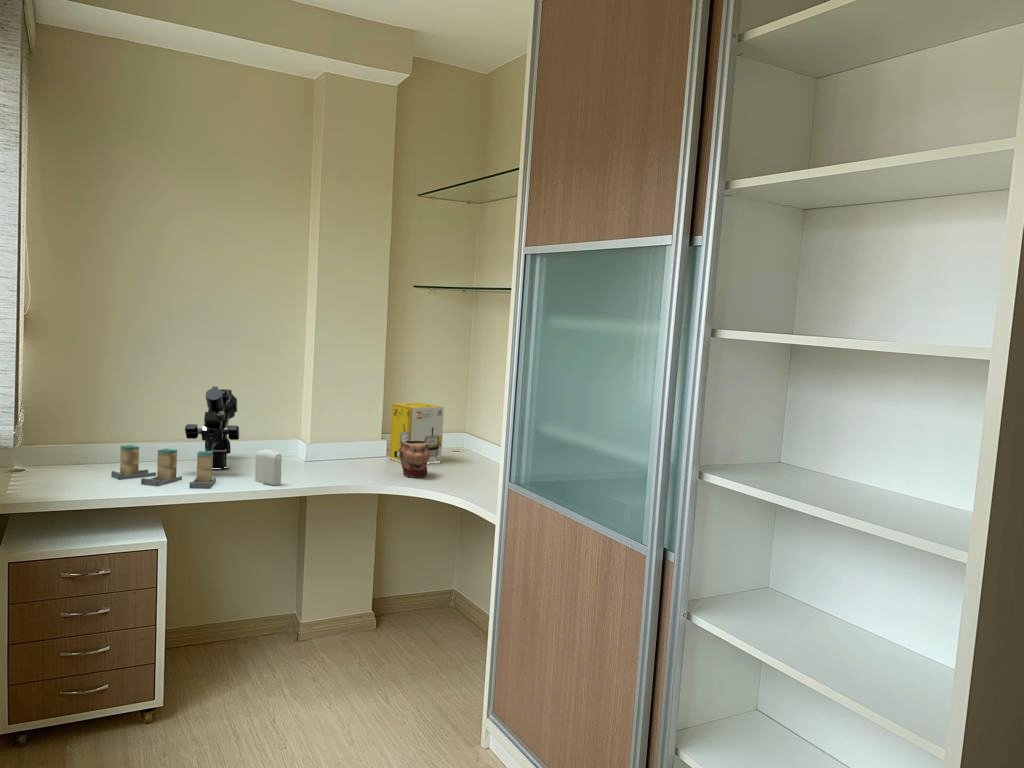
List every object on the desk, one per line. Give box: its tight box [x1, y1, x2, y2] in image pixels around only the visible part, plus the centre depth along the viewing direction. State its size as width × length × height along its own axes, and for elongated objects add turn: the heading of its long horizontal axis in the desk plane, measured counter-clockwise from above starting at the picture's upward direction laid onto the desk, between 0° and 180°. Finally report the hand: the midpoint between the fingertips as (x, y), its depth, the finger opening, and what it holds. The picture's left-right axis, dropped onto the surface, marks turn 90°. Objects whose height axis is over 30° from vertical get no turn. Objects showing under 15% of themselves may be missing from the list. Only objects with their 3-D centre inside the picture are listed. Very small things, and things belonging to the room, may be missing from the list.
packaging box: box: [389, 402, 445, 462], centre depth 360 cm, size 16×16×25 cm
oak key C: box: [196, 450, 213, 482], centre depth 290 cm, size 4×4×11 cm
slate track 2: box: [140, 475, 183, 487], centre depth 288 cm, size 13×7×2 cm, turn 166°
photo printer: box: [254, 449, 283, 486], centre depth 298 cm, size 10×4×12 cm, turn 63°
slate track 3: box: [189, 476, 217, 490], centre depth 288 cm, size 13×7×2 cm, turn 12°
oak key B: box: [156, 448, 178, 481], centre depth 291 cm, size 4×4×11 cm
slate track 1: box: [111, 469, 157, 481], centre depth 295 cm, size 13×7×2 cm, turn 140°
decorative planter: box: [399, 441, 430, 478], centre depth 330 cm, size 20×12×14 cm, turn 24°
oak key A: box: [119, 444, 140, 476], centre depth 293 cm, size 4×4×11 cm
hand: (209, 450), depth 300 cm, fingers closed
